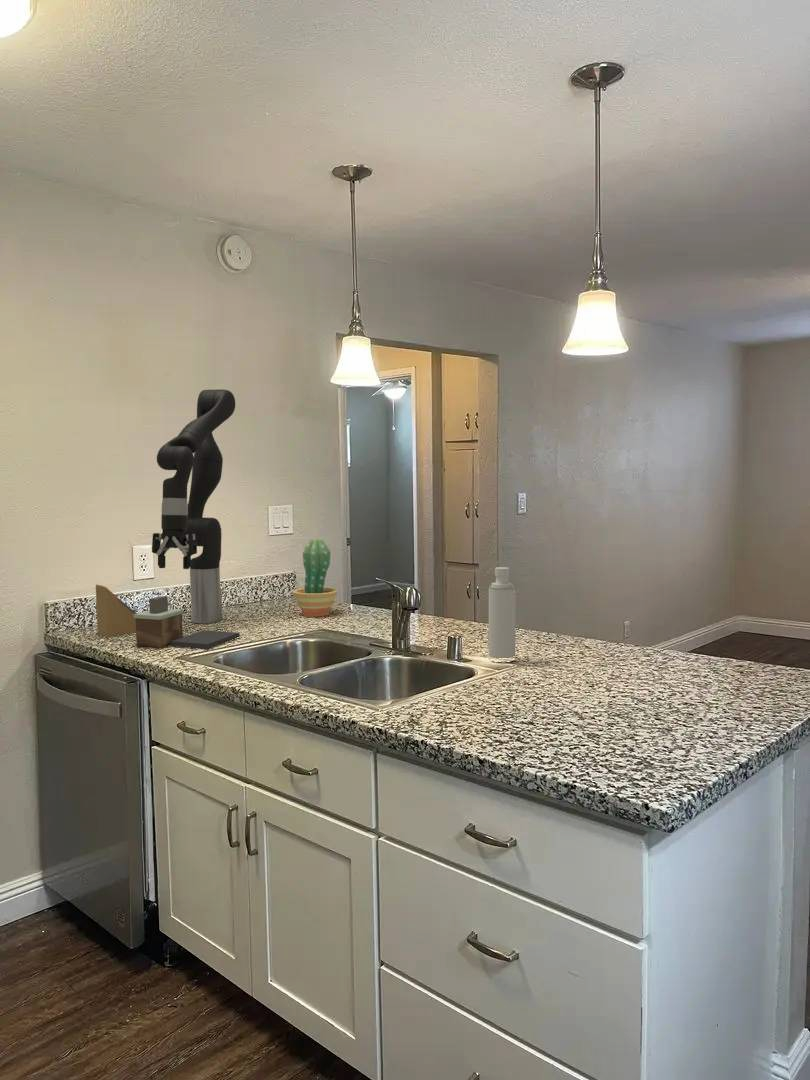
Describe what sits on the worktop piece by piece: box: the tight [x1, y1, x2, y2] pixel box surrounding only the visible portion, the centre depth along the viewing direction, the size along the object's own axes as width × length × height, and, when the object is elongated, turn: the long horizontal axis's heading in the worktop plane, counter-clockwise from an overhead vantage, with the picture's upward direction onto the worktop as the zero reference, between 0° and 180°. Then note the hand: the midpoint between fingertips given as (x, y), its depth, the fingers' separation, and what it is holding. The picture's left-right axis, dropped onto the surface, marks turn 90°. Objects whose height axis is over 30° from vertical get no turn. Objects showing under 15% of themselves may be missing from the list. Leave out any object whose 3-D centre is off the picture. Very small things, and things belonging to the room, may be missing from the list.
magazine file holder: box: [95, 584, 138, 638], centre depth 245 cm, size 9×15×15 cm, turn 129°
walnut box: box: [135, 613, 184, 649], centre depth 228 cm, size 10×8×8 cm
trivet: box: [170, 629, 240, 650], centre depth 230 cm, size 16×12×2 cm
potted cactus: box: [292, 539, 339, 617], centre depth 271 cm, size 15×15×25 cm
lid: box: [134, 595, 184, 620], centre depth 228 cm, size 11×9×6 cm
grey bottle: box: [488, 566, 517, 658], centre depth 205 cm, size 7×7×25 cm
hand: (174, 568), depth 242 cm, fingers open, 8 cm apart
